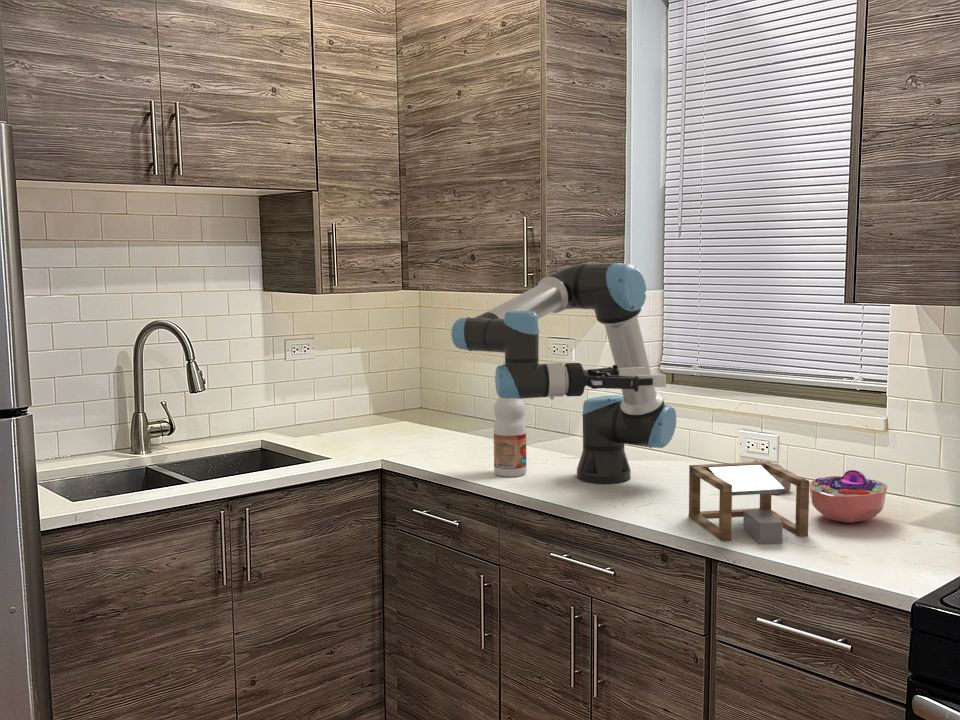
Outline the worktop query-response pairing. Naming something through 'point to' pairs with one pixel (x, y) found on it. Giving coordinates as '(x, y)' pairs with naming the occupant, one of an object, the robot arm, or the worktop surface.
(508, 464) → the fruit juice
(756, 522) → the basalt block
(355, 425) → the worktop surface
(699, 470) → the stand
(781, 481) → the concrete fragment
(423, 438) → the worktop surface
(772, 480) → the trapdoor flap
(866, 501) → the cell model
